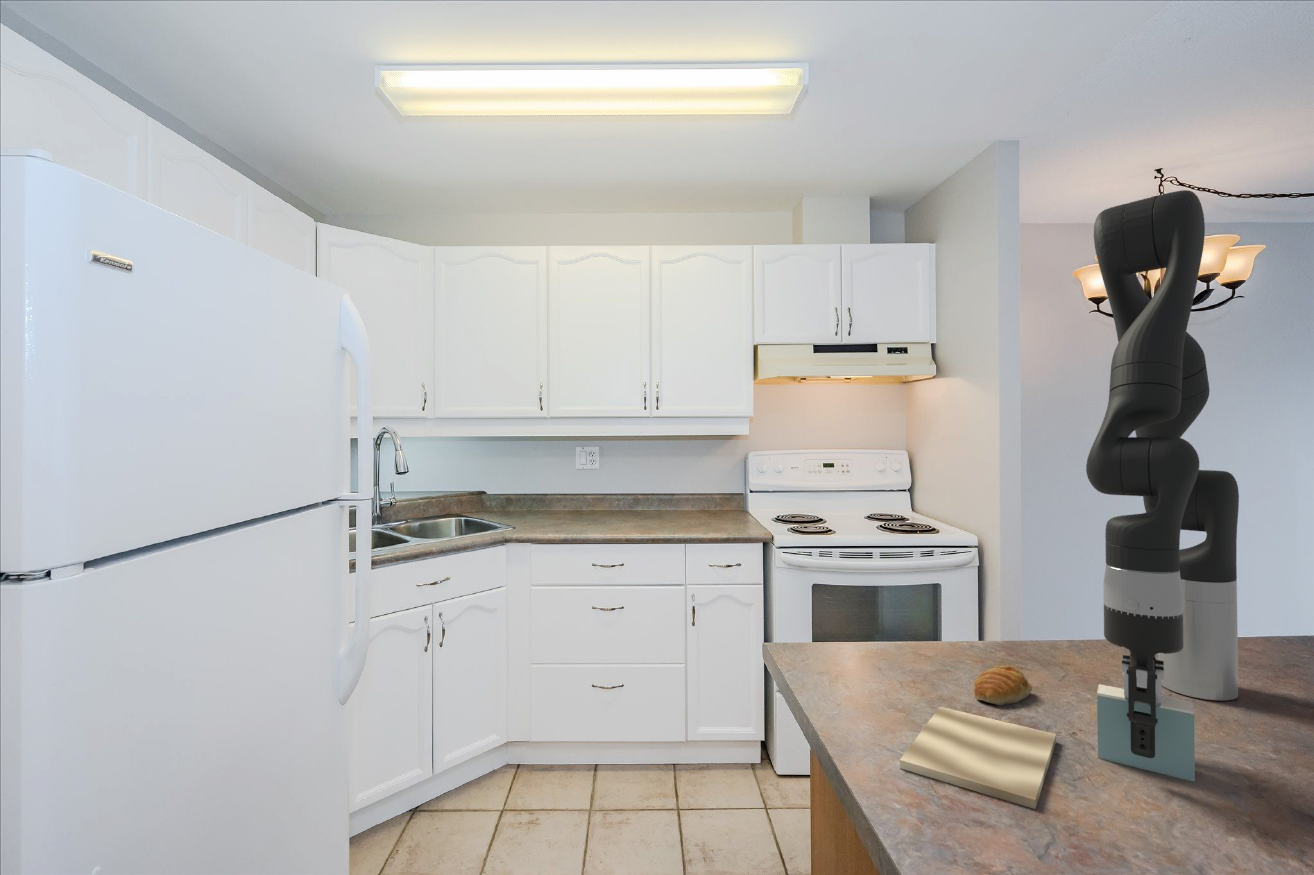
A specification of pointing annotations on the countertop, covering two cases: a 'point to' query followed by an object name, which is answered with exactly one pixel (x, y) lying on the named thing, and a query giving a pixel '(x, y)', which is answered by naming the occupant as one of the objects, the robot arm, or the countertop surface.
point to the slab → (1169, 734)
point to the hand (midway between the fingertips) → (1143, 740)
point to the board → (982, 755)
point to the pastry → (1002, 685)
